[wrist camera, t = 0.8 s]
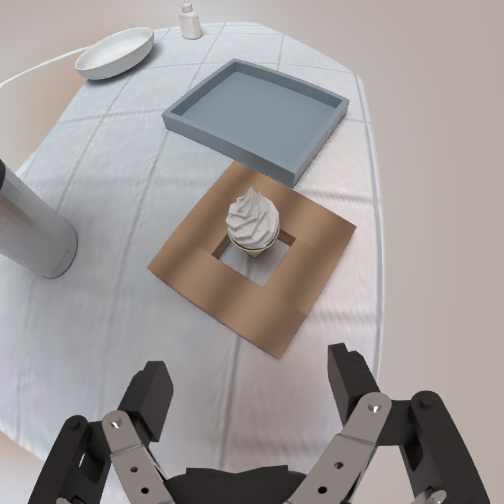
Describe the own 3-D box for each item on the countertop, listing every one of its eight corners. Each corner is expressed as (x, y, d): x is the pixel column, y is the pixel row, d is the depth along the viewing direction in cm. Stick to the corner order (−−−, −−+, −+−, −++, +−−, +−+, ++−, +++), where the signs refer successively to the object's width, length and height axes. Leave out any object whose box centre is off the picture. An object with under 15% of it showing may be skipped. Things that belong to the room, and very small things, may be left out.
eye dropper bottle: (186, 42, 56) (179, 4, 45) (182, 35, 58) (175, 0, 47) (202, 38, 57) (196, 0, 45) (197, 31, 59) (192, -4, 47)
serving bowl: (163, 39, 58) (158, 19, 52) (152, 76, 51) (145, 52, 44) (96, 59, 58) (88, 41, 51) (73, 100, 50) (62, 80, 44)
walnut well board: (155, 275, 35) (146, 267, 32) (236, 173, 40) (234, 160, 37) (277, 359, 31) (278, 359, 28) (349, 236, 36) (356, 226, 33)
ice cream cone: (262, 230, 36) (265, 152, 22) (282, 264, 35) (297, 199, 21) (227, 247, 36) (208, 176, 22) (245, 282, 34) (236, 227, 20)
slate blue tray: (166, 128, 44) (161, 114, 40) (235, 71, 49) (234, 58, 46) (292, 188, 39) (294, 174, 35) (345, 114, 44) (349, 100, 41)
